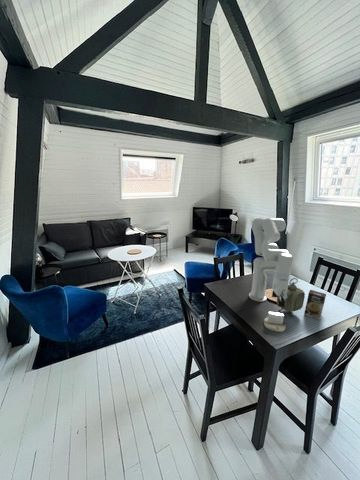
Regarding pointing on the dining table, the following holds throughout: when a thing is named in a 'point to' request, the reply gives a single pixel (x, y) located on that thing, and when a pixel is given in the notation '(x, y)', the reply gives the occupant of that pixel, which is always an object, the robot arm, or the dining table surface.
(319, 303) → the coffee box
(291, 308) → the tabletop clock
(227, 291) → the dining table surface
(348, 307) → the dining table surface
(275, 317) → the dial knob
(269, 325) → the dial base
